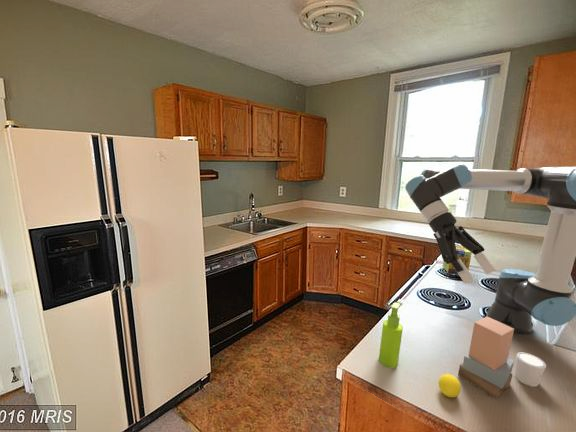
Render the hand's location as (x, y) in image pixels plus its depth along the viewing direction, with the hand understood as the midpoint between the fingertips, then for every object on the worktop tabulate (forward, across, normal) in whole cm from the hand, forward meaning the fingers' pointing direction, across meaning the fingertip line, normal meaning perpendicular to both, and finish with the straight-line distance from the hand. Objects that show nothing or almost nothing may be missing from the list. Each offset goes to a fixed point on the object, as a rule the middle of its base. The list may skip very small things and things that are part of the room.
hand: (481, 277), depth 82 cm
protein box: (-9, -84, -54) cm, 100 cm away
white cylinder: (+31, -13, -14) cm, 37 cm away
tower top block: (+24, -1, -16) cm, 29 cm away
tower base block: (+26, -1, -19) cm, 32 cm away
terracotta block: (+21, 0, -13) cm, 25 cm away
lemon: (+24, +14, -21) cm, 35 cm away
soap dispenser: (+12, +18, -33) cm, 39 cm away
